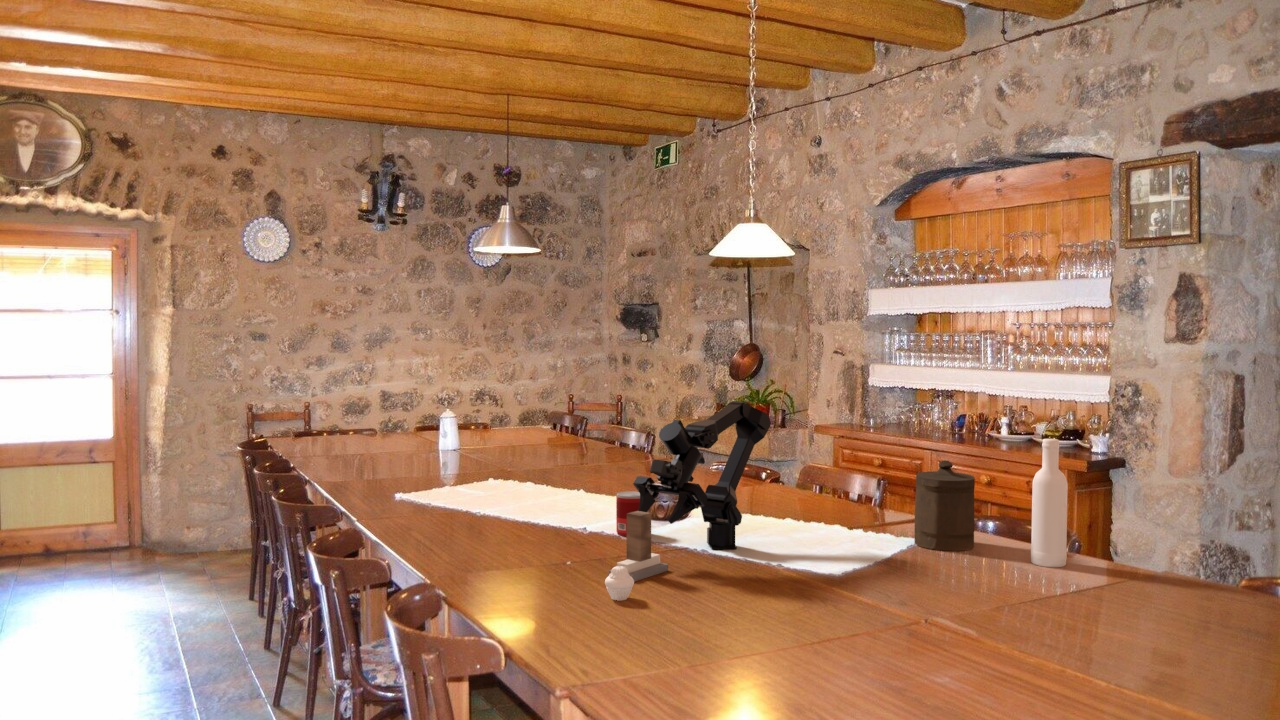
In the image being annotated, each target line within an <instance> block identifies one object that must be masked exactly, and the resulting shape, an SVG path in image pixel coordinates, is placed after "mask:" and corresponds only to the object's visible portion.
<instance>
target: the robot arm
mask: <svg viewBox="0 0 1280 720" xmlns="http://www.w3.org/2000/svg"><path fill="white" fill-rule="evenodd" d="M733 425H735V432H736V440H735V442H734V444H733V446H732V449H731V452H730V453H729V456H728V458H727V461H726V463H725V465H724V468H723V470H722V472H721V474H720V476H719V479H718V481H717V482H716V484H708V485H707V487H706V490H705V491H704V489H703V488H702V486H701V484H700V483H694V482H693V481H694V477H693V473H694V472H695V470H696V468H697V466H698V464H702V465H704V464H705V463H706V460H705V457H704V453H703V452H701V451H700V450H699V449H707V450H708V449H711V448H712V447H713V446H714V445H715V444H716V443H717V442H718V440H719V435H720V434H721V433H723V432H725V431H726V430H727V429H729V428H730V427H732V426H733ZM770 427H771V418H770V417H769V415H768V413H767V412H764V411H762V410H760V409H758V408H755V407H753V406H752V405H751V404H750V403H747V402H746V401H737V400H736V401H730V402H729V403H727V406H726V405H725V407H723V408H722V409H720V410H719V411H718V412H716V413H714V414H712V415H711V416H710V417H708V418H707V419H704V420H698V421H697V420H696V421H695V422H691V423H689V424H687V425H686V426H684V424H683V422H682V421H681V419H673V420H672V422H671V423H668V424H666V425H665V426H663V427H662V428H660V430H659V432H658V437H659V439H660V440H661V442H662V444H663V445H664V446H665V448H666V449H667V450H668V452H669V454H671V455H673V456H674V457H673V458H672V459H671V461H668V460H664V459H655V458H654V459H652V462H651V465H650V468H649V473H651V474H654V475H656V476H657V477H656V479H657V481H658V482H660V483H656V482H655V481H654V479H653V478H652V477H649V476H643V475H642V476H641V475H639V476H636V477H635V480H634V481H633V483H632V484H633V487H635V489H636V490H637V492H639V493H640V504H639V511H642V512H648V511H649V510H650V509H651V507H652V506H653V505H654V504H655V503H656V498H657V497H658V496H659V495H660V494H665V495H671V496H678V500H677V502H676V505H675V506H674V508H673V510H672V512H671V514H670V516H669V519H668V523H670V524H671V525H672V524H675V522H676V521H678V520H679V519H681V518H682V517H683V516H685V515H687V514H689V513H691V512H692V511H693V510H697V509H699V507H700V510H701V513H702V519H703V522H704V523H709V526H708V527H706V530H707V531H706V534H707V535H706V544H707V545H708V546H709V547H710V549H711V550H729V549H730V550H733V549H737V548H738V546H737V545H736V526H739V525H740V524H742V519H743V515H742V513H741V512H740V510H739V508H738V507H737V505H738V497H737V493H736V491H737V488H738V485H739V483H740V481H741V479H742V475H743V474H744V471H745V469H746V466H747V464H748V462H749V459H750V457H751V455H752V452H753V449H754V447H755V445H757V444H758V443H759V442H760V441H762V440H763V439H764V438H765V436H766V435H767V433H768V431H769V429H770Z"/></svg>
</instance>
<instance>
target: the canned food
mask: <svg viewBox="0 0 1280 720" xmlns="http://www.w3.org/2000/svg"><path fill="white" fill-rule="evenodd" d="M615 503H616V505H615V506H616V512H615V513H616V515H615V517H616V533H617V535H618V536H620V537H626V538H627V513H631V512H635V511H639V504H640V493H639V491H634V490H633V491H628V490H627V491H620V492H617V493H616V502H615Z"/></svg>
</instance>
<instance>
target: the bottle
mask: <svg viewBox="0 0 1280 720" xmlns="http://www.w3.org/2000/svg"><path fill="white" fill-rule="evenodd" d="M1041 448H1042V459H1041V460H1042V461H1041V468H1040V469H1039V470H1038V471H1036V472H1035V474H1034V477H1033V479H1032V487H1031V488H1032V491H1031V492H1032V493H1031V537H1030V538H1031V540H1030V541H1031V542H1030V543H1031V544H1030V562H1031V564H1033V565H1035V566H1039V567H1043V568H1063V567H1065V566H1066V565H1067V556H1068V555H1067V554H1068V553H1067V543H1068V542H1067V541H1068V540H1067V538H1068V536H1067V535H1068V532H1067V531H1068V526H1067V525H1068V490H1069V489H1068V488H1069V486H1068V485H1069V483H1068V480H1067V478H1066V475H1065V474H1064V473H1063V471H1062V470H1060V468H1059V463H1060V461H1059V460H1060V459H1059V458H1060V440H1059V439H1057V438H1043V439H1042V443H1041Z"/></svg>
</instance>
